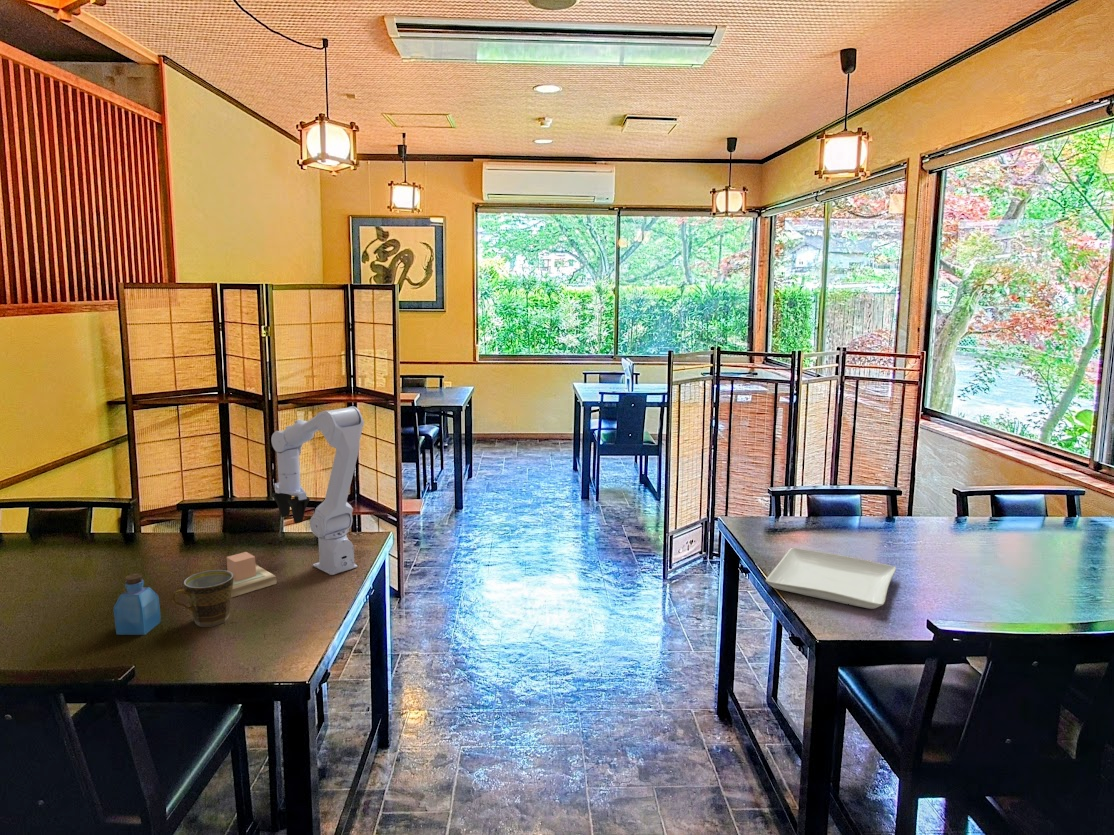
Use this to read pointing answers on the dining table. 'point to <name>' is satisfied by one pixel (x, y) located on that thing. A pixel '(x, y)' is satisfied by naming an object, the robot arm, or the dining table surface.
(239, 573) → the terracotta block
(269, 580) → the display base
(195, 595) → the ceramic cup
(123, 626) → the perfume bottle
